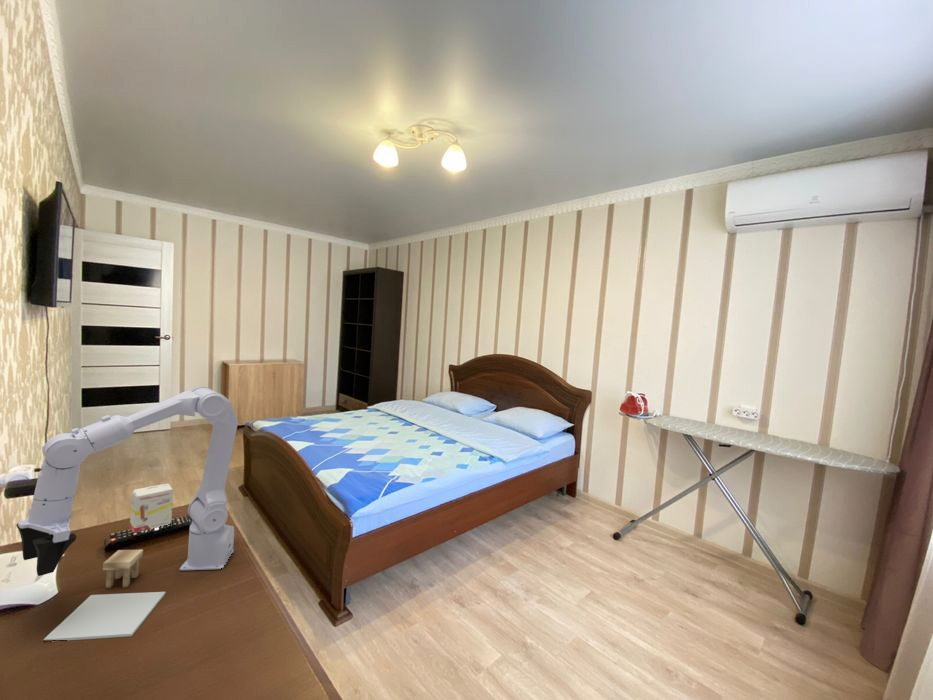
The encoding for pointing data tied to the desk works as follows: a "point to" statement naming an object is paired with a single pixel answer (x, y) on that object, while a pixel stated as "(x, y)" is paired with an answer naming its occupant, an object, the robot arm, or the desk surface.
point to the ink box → (151, 507)
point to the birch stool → (122, 566)
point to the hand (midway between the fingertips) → (38, 565)
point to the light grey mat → (107, 616)
